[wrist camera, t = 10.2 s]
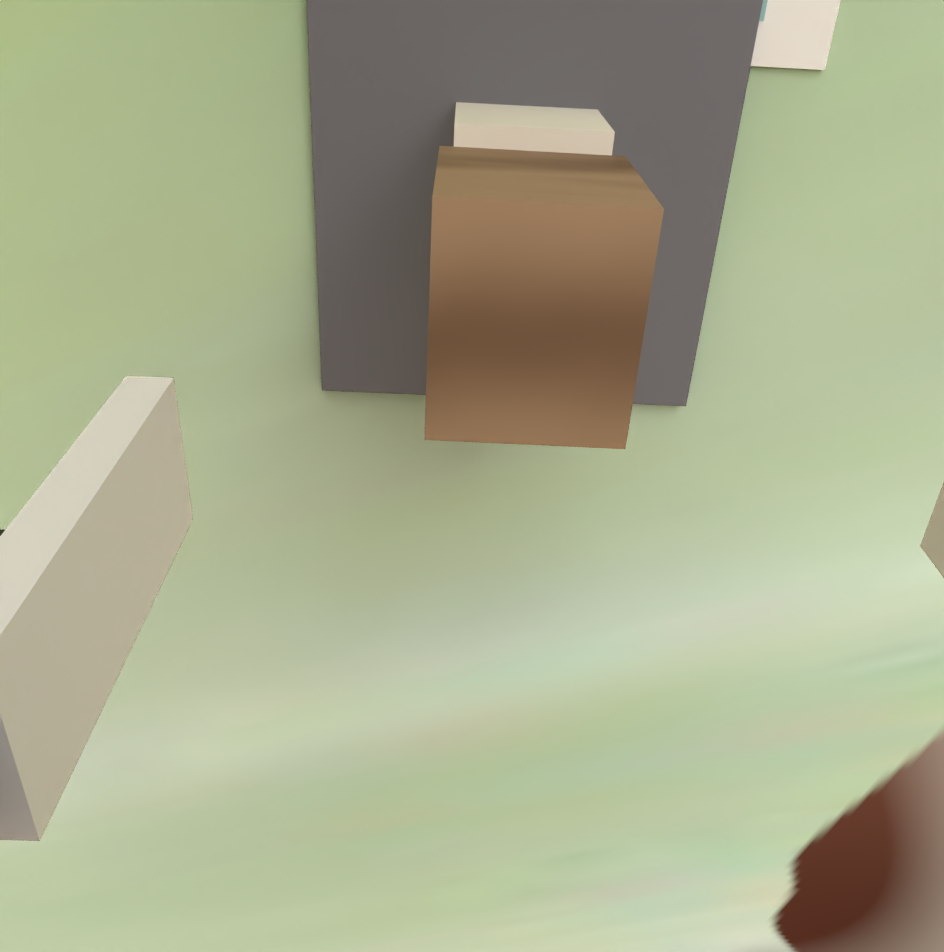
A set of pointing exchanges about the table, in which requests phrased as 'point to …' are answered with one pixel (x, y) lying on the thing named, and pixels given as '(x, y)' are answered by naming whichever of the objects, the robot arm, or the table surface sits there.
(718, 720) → the table surface
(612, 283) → the walnut brick
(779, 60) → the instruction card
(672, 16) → the mat
